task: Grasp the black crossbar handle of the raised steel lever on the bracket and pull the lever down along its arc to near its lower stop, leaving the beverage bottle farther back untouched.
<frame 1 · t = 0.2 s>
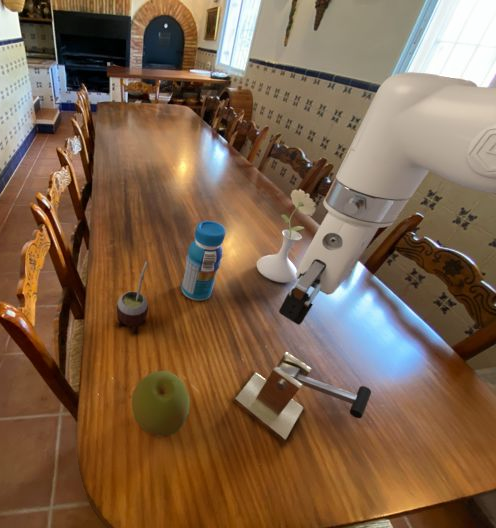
hand: (304, 302, 45), 24 cm above the table, tool pointing down, fingers open, 9 cm apart
beverage bottle: (195, 291, 80), on the table
lever: (319, 386, 46), point 13 cm above the table, hinge at 25.0°
mate gourd: (132, 322, 70), on the table
apple: (157, 416, 54), on the table
flower in vase: (273, 272, 89), on the table
bracket: (267, 405, 56), on the table
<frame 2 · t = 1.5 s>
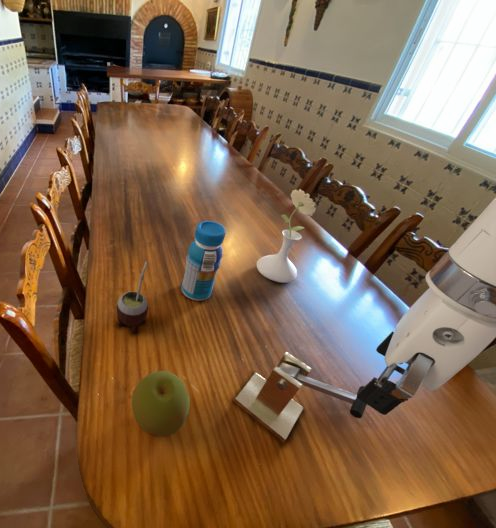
hand: (379, 378, 39), 21 cm above the table, tool pointing down, fingers open, 9 cm apart
nothing on the table moved.
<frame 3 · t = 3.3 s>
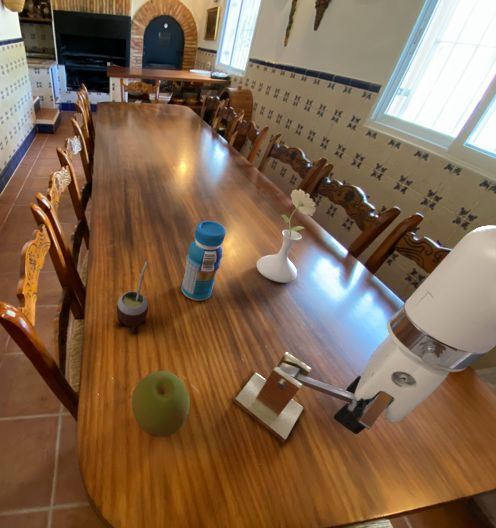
hand: (351, 409, 44), 13 cm above the table, tool pointing down, fingers closed on lever, 5 cm apart
lever: (319, 386, 46), point 13 cm above the table, hinge at 25.0°, touching gripper
everything else where it was.
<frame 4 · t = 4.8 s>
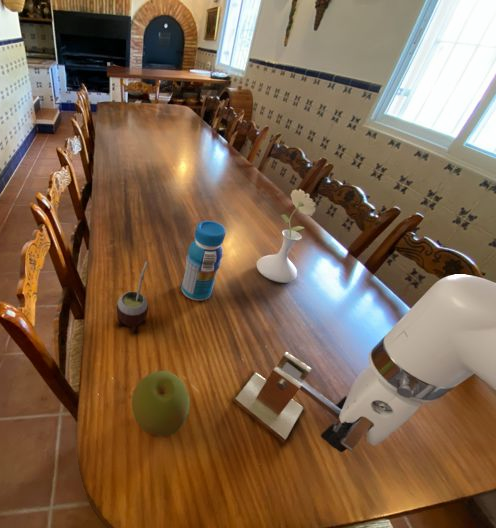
hand: (337, 428, 47), 7 cm above the table, tool pointing down, fingers closed on lever, 5 cm apart
lever: (315, 395, 47), point 11 cm above the table, hinge at -5.0°, touching gripper
everything else where it was.
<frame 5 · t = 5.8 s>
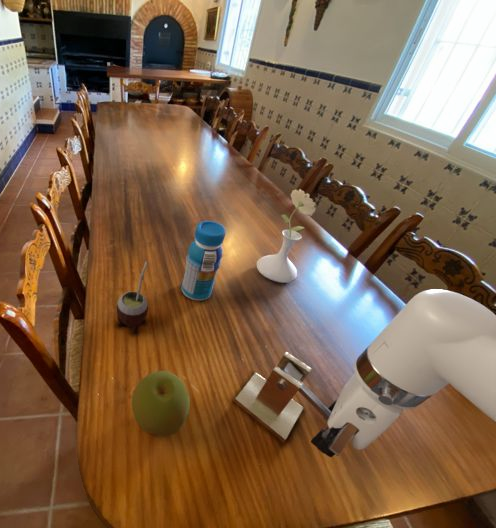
hand: (328, 432, 49), 5 cm above the table, tool pointing down, fingers open, 5 cm apart
lever: (311, 398, 48), point 10 cm above the table, hinge at -18.5°
everything else where it was.
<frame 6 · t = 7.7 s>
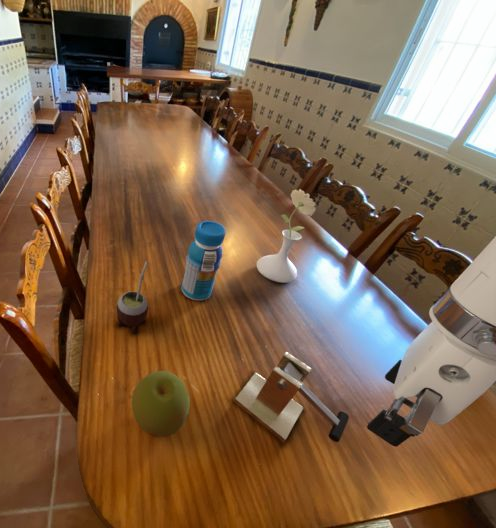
hand: (389, 408, 39), 18 cm above the table, tool pointing down, fingers open, 9 cm apart
nothing on the table moved.
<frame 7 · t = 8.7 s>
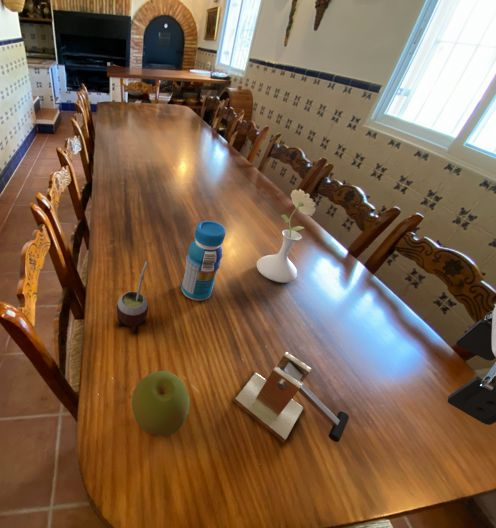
hand: (469, 378, 31), 28 cm above the table, tool pointing down, fingers open, 9 cm apart
nothing on the table moved.
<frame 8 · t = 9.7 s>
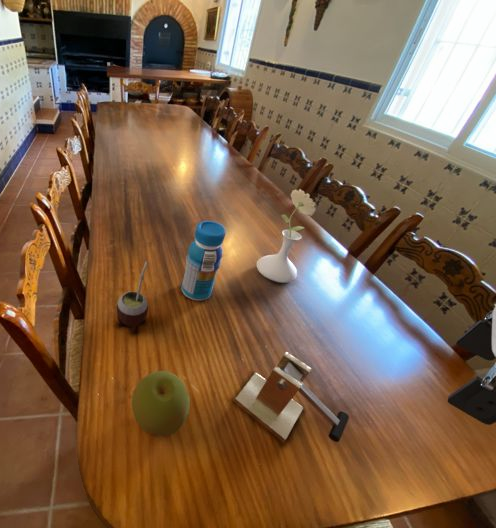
hand: (469, 378, 31), 28 cm above the table, tool pointing down, fingers open, 9 cm apart
nothing on the table moved.
at the end: lever at -18° (first picture: +25°); the gripper is holding nothing; beverage bottle moved 0.2 cm from its start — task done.
